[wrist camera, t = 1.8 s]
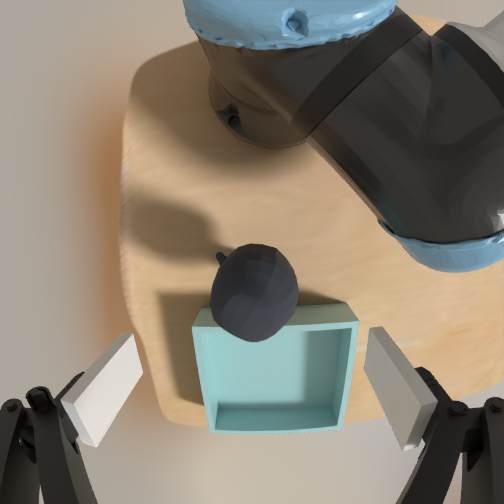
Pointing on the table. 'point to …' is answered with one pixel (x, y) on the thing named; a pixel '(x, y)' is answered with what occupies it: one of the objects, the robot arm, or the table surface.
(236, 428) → the bin
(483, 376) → the table surface
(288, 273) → the toy
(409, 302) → the table surface
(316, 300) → the table surface
